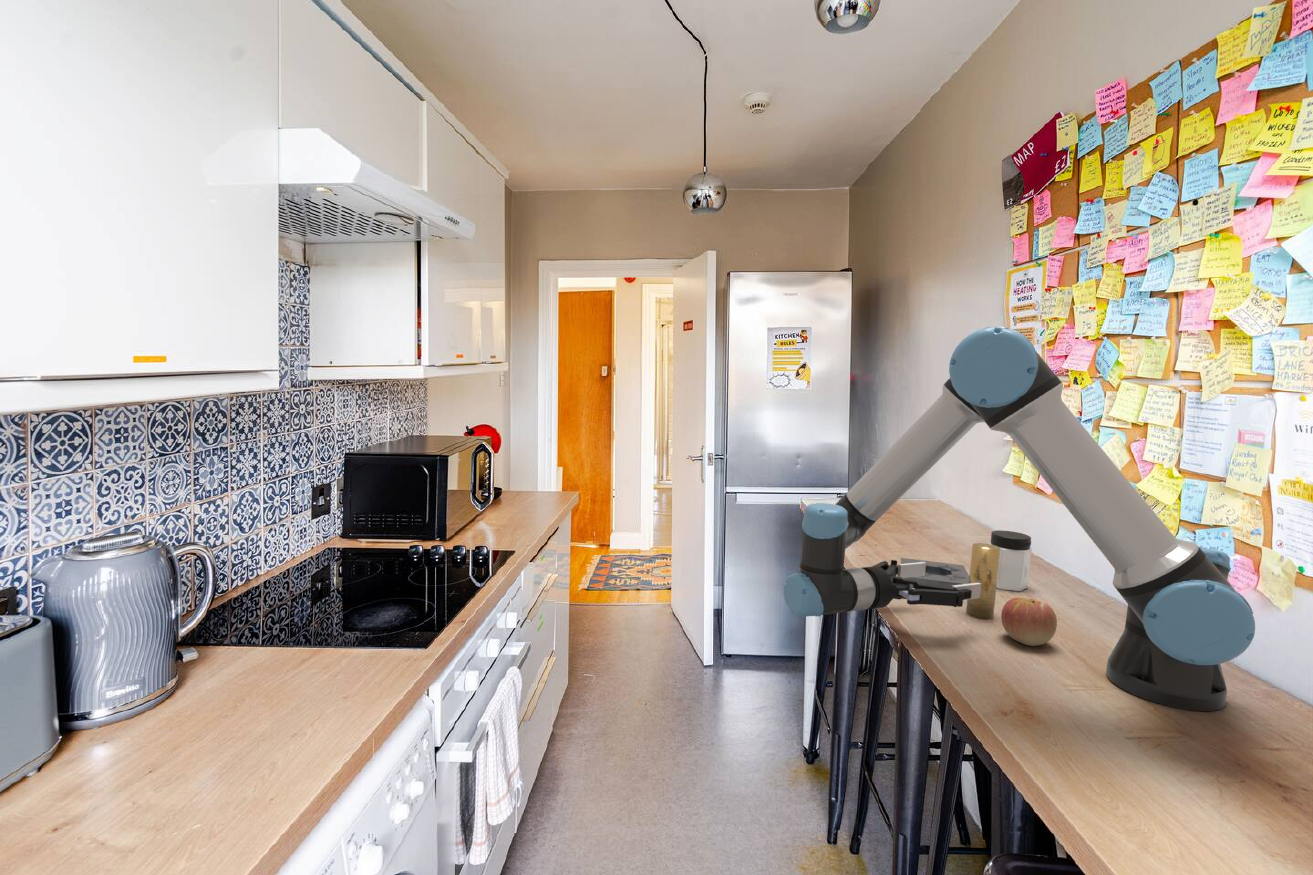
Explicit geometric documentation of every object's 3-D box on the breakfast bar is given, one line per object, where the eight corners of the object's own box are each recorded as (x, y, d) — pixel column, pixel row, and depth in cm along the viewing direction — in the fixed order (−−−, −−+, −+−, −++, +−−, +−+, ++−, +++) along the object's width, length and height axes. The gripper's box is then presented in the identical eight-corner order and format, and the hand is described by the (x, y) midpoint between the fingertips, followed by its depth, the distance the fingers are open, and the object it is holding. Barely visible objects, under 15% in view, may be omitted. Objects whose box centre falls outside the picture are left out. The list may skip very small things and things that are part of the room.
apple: (1025, 653, 118) (1030, 609, 117) (988, 633, 126) (992, 591, 126) (1065, 650, 120) (1070, 606, 119) (1026, 630, 129) (1030, 590, 128)
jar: (1018, 594, 151) (1023, 541, 149) (980, 584, 157) (985, 533, 155) (1031, 586, 157) (1037, 535, 156) (994, 577, 163) (999, 528, 161)
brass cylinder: (995, 620, 133) (1002, 551, 132) (967, 616, 135) (974, 547, 133) (991, 612, 138) (997, 544, 137) (964, 608, 140) (970, 541, 138)
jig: (972, 598, 146) (973, 585, 146) (903, 589, 150) (904, 576, 150) (962, 577, 161) (963, 565, 161) (899, 569, 165) (900, 557, 165)
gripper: (820, 586, 136) (902, 578, 144) (911, 634, 113) (1003, 620, 122) (822, 550, 135) (905, 543, 144) (915, 590, 112) (1007, 580, 121)
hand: (950, 579), depth 133 cm, fingers open, 13 cm apart
